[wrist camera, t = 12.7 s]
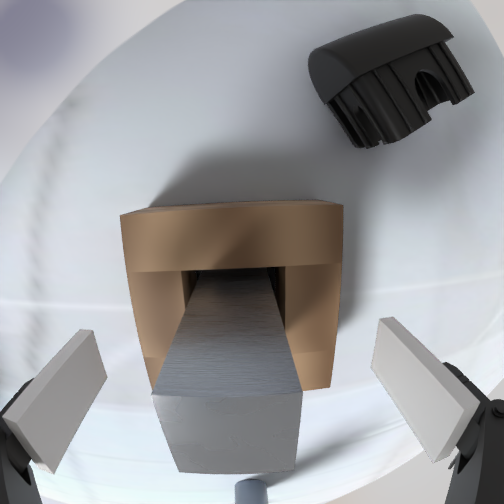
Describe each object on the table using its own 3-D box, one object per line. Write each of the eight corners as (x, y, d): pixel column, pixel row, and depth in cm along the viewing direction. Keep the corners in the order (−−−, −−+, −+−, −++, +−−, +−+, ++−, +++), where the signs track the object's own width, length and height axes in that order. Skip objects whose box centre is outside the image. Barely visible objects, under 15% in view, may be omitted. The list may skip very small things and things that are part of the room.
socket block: (167, 356, 22) (153, 394, 17) (147, 207, 19) (120, 215, 14) (313, 350, 22) (330, 387, 17) (318, 199, 20) (343, 204, 15)
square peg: (211, 312, 21) (179, 471, 8) (206, 260, 20) (151, 394, 7) (264, 310, 21) (294, 470, 8) (263, 258, 20) (302, 392, 7)
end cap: (387, 35, 17) (428, 0, 10) (433, 103, 18) (485, 87, 12) (296, 74, 18) (320, 31, 11) (351, 154, 19) (398, 143, 12)
